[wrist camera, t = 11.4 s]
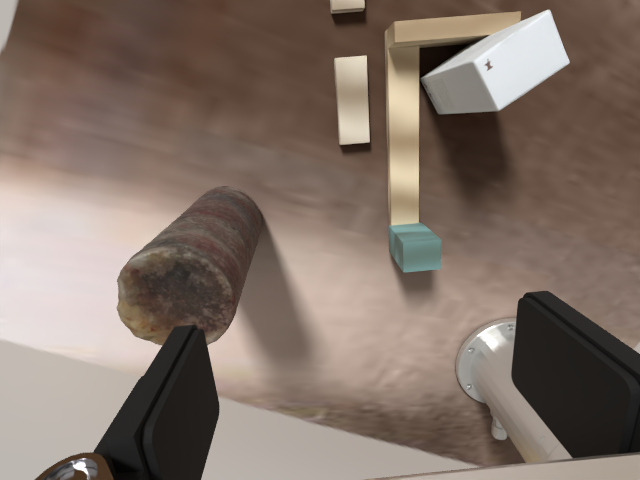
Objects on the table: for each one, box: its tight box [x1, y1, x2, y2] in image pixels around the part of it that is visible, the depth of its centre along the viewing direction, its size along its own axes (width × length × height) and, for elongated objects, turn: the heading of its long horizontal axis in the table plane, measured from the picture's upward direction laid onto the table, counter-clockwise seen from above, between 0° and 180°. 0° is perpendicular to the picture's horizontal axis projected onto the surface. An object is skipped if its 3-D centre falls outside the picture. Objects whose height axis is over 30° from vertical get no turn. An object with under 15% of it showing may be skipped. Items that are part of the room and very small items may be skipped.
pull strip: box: [385, 11, 521, 273], centre depth 35 cm, size 22×11×7 cm, turn 5°
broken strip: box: [330, 0, 370, 145], centre depth 34 cm, size 22×3×1 cm, turn 5°
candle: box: [117, 186, 261, 345], centre depth 31 cm, size 8×7×20 cm
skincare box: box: [420, 10, 570, 114], centre depth 31 cm, size 6×4×12 cm
